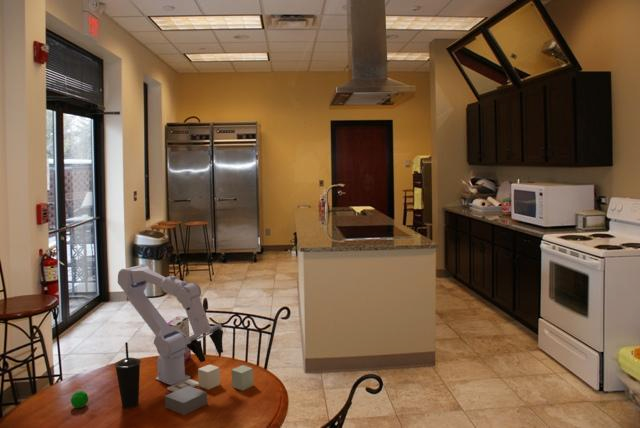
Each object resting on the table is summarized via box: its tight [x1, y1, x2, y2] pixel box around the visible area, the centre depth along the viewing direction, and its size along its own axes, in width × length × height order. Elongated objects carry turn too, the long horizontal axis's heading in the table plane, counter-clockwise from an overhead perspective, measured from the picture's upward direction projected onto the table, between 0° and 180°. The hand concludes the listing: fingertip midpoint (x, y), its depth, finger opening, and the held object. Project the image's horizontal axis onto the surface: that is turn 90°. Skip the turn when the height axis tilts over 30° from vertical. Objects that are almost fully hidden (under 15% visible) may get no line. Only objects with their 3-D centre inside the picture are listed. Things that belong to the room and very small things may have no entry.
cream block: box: [197, 364, 221, 390], centre depth 175 cm, size 5×5×6 cm
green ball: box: [70, 390, 89, 409], centre depth 161 cm, size 5×5×5 cm
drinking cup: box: [114, 341, 142, 409], centre depth 161 cm, size 8×8×20 cm
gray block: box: [164, 386, 208, 416], centre depth 160 cm, size 9×9×4 cm
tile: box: [166, 378, 199, 393], centre depth 174 cm, size 6×9×1 cm, turn 141°
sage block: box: [231, 364, 254, 391], centre depth 173 cm, size 5×5×6 cm
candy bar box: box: [167, 315, 192, 364], centre depth 196 cm, size 11×5×16 cm, turn 169°
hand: (212, 357), depth 172 cm, fingers open, 7 cm apart
